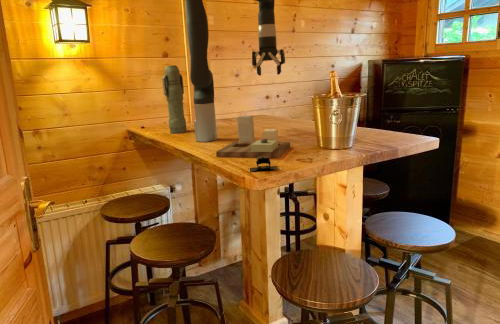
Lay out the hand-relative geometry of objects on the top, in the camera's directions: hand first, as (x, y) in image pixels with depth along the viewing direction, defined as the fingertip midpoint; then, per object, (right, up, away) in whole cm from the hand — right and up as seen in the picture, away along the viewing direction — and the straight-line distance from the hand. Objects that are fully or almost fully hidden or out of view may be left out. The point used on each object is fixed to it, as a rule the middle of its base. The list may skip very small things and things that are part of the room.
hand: (269, 75), depth 170 cm
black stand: (-4, -41, -44) cm, 60 cm away
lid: (-3, -33, -28) cm, 44 cm away
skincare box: (-10, -30, -1) cm, 32 cm away
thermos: (-47, -22, +40) cm, 66 cm away
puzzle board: (-7, -34, -20) cm, 40 cm away
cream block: (0, -34, -20) cm, 39 cm away
